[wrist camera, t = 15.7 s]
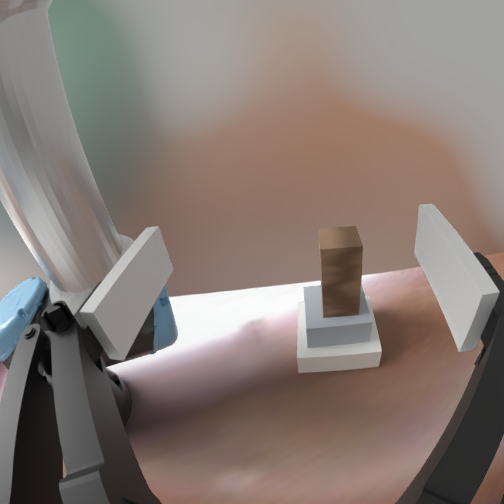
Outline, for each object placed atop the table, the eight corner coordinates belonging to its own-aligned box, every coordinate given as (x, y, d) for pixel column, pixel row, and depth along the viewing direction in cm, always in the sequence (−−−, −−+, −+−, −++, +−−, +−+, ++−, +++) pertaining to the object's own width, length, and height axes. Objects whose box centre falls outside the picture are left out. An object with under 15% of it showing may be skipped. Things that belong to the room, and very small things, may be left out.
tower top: (307, 348, 41) (306, 328, 39) (305, 306, 48) (303, 287, 46) (369, 341, 39) (372, 321, 37) (359, 300, 47) (360, 281, 45)
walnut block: (323, 317, 40) (320, 249, 34) (321, 294, 44) (318, 228, 38) (358, 315, 39) (362, 246, 33) (354, 291, 43) (355, 226, 37)
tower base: (298, 374, 42) (296, 358, 39) (299, 318, 52) (298, 301, 50) (378, 367, 39) (381, 351, 37) (367, 313, 49) (368, 296, 47)
